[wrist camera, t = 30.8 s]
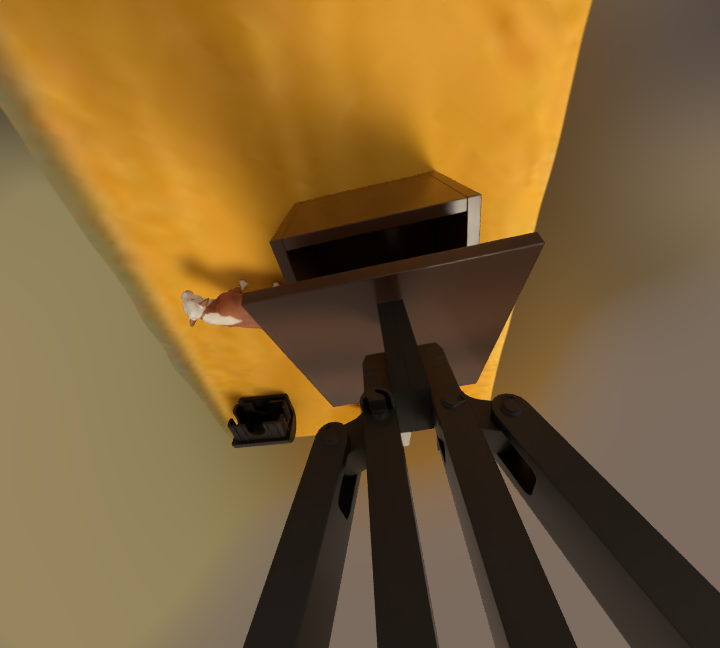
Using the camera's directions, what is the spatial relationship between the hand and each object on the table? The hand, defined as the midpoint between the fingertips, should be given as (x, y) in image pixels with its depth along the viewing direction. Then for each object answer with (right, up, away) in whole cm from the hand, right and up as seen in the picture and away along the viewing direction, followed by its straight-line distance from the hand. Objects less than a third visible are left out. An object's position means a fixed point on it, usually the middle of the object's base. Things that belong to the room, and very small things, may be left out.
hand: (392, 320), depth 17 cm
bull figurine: (-16, +5, +22) cm, 28 cm away
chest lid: (+1, -2, +7) cm, 7 cm away
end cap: (-19, -16, +36) cm, 44 cm away
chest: (0, +8, +20) cm, 21 cm away
